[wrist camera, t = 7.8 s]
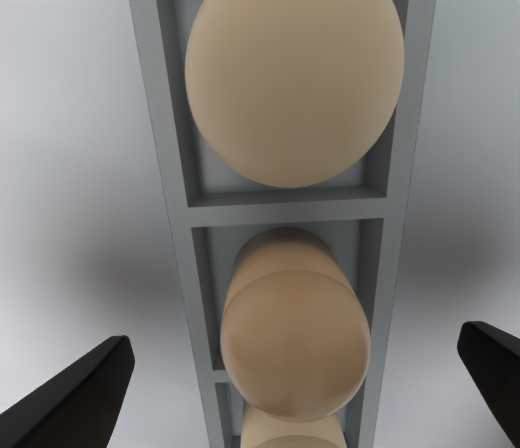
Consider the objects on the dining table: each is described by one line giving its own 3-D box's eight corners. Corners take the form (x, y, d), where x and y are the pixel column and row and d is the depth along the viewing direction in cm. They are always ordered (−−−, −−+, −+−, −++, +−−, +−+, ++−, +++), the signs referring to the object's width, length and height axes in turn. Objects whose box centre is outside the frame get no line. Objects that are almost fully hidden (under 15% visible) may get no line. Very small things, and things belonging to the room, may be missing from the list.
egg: (334, 317, 11) (389, 462, 6) (236, 320, 11) (217, 466, 6) (340, 224, 10) (415, 321, 5) (227, 229, 10) (194, 329, 5)
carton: (352, 427, 14) (406, 606, 9) (222, 431, 14) (201, 610, 9) (398, -43, 7) (723, -432, 2) (154, -25, 8) (-82, -356, 2)
